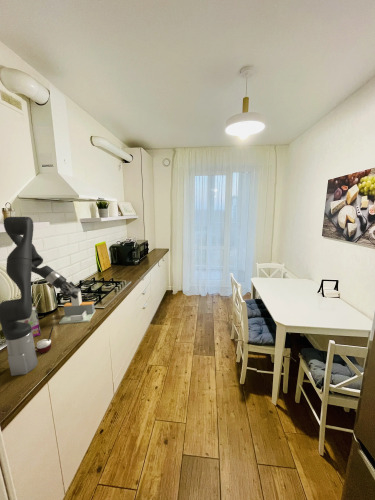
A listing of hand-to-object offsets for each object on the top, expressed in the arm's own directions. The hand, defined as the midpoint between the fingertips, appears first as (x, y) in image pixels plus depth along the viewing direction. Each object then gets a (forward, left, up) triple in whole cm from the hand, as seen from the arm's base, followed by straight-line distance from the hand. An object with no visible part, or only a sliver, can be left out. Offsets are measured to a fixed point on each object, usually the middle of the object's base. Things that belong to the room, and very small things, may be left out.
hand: (78, 296), depth 134 cm
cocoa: (-31, +6, -16) cm, 36 cm away
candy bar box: (-17, +22, -16) cm, 32 cm away
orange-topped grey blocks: (+2, +2, -16) cm, 16 cm away
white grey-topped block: (0, +1, -6) cm, 6 cm away
